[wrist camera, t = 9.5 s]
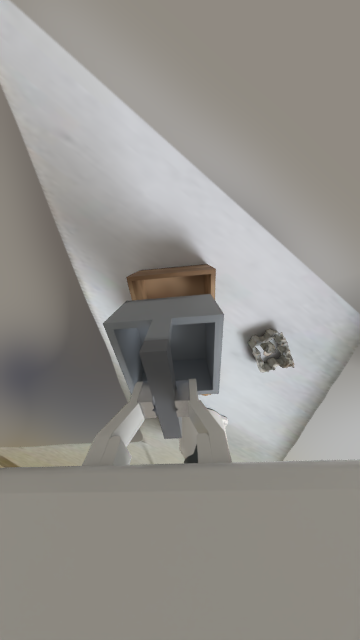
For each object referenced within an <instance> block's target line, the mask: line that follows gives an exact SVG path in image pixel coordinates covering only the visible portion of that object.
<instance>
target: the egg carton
mask: <svg viewBox="0 0 360 640" xmlns="http://www.w3.org/2000/svg"><path fill="white" fill-rule="evenodd" d="M274 334H276V335H275V336H274ZM272 338H274V340H275V341H276V342H277V343H278V344H279V345H278V347H277V349H278V351H279V352H280V353H281V355H280V358H278V359H275V358H270V359H268V360H267V363H264V361H263V360H262V359H261V357H260V356H261V354H260V351H259V350H258V349H257V348H256V347H255V346H257V345H260V346H261V347H262V348H263V350H264V355H265V356H269V355H271V354H272V353H275V352H276V349H275V347H274V345H273V344H272V343H271V342H270V341H269V340H272ZM248 344H249V345H250V347H251V348H252V349H253V351H252V353H253V355H254V357H255V358H256V362H257V366H258V368H259V370H260V372H262V373H264V372H269V370H275V367H277V366H280V367H282V368H287V367H291V366H292V367H293V368H294V362H293V359H292V356H291V355H290V350H289V347H288V343H287V341H286V339H285V338H284V336H283V333H282V332H281V333H278V332H277V331H272V330H271V329H268V330H266V333H265V335H263V336H262V337H258V336H256V335H254V336H252V337H251V340H250V341H249V342H248Z"/></svg>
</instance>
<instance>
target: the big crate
mask: <svg viewBox="0 0 360 640" xmlns="http://www.w3.org/2000/svg"><path fill="white" fill-rule="evenodd" d="M215 276H216V269H215V268H213V267H211V266H210V265H208V264H204V265H193V266H183V267H172V268H162V269H151V270H141V271H138V272H136V273H134V274H132V275H130V276H128V277H126V278H127V282H128V286H129V290H130V294H131V297H132V301H133V300H144V299H156V298H168V297H180V296H192V295H204V294H211V295H212V297H213V298H214V300H215Z"/></svg>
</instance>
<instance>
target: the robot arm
mask: <svg viewBox="0 0 360 640" xmlns="http://www.w3.org/2000/svg"><path fill="white" fill-rule="evenodd" d="M175 386H176V390H175V407H176V413H177V417H182V438H179V450H180V451H181V454H182V455H183V456H184V458H185V461H184V464H146V465H130V461H131V454H130V453H129V451H128V449H127V448H126V447H127V445H128V444H129V442H130V441H131V439H132V438H133V436H134V435H135V434H136V432H137V431H138V429H139V428H140V426H141V425H142V423H143V422H144V420H145V419H147V418H157V411H156V408H155V404H154V401H153V398H152V394H151V391H150V387H149V384H148V381H141V382H137V383H136V384H135V387H134V390H133V393H132V396H131V399H130V402H129V403H128V404H126V405H125V406H124V407H123V408H122V409H121V410H120V411H119V412H118V413H117V414H116V416H114V417H113V418H112V420H111V421H110V422H109V423H108V424H107V425H106V426H105V427H104V428H103V429H102V430H101V431H100V432H99V433H98V434H97V435H96V436H95V439H94V441H93V443H92V445H91V447H90V449H89V451H88V454H87V456H86V458H85V460H84V462H83V464H82V466H60V467H17V468H0V640H360V460H320V461H275V462H232V461H231V456H230V452H229V446H228V441H227V436H226V431H225V427H226V425H227V423H228V419H227V418H226V417H223V416H221V415H219V414H218V413H217V412H215V411H213V410H210V409H207V408H206V407H205V406H204V404H203V403H202V402H201V400H198V393H197V384H196V379H179V380H176V381H175Z"/></svg>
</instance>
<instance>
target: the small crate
mask: <svg viewBox="0 0 360 640" xmlns="http://www.w3.org/2000/svg"><path fill="white" fill-rule="evenodd" d="M223 320H224V314H223V312H222V311H221V309H220V308H219V306H218V304H217V303H216V301H215V300H214V298H213V297H212V295H211V294H204V295H192V296H180V297H168V298H156V299H144V300H133V301H126V302H125V303H124V304H123V305H122V306H121V307H120V308H119V309H118V310H117V311H116V312H114V313H113V314H112V315H111V316H110V317H109V318H108V319H107V320H106V321H105V322H104V323H103V325H104V328H105V330H106V333H107V335H108V338H109V340H110V343H111V345H112V347H113V350H114V352H115V355H116V357H117V360H118V362H119V365H120V367H121V370H122V372H123V375H124V377H125V380H126V382H127V385H128V387H129V390H130V392H131V395H132V393H133V390H134V387H135V384H136V383H137V382H141V381H148V384H149V387H150V391H151V394H152V398H153V401H154V404H155V408H156V411H157V415H158V418H159V422H160V425H161V428H162V432H163V435H164V439H171V438H182V417H177V413H176V407H175V390H176V386H175V381H176V380H179V379H196V384H197V393H198V395H200V394H219V382H220V366H221V351H222V335H223Z"/></svg>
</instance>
